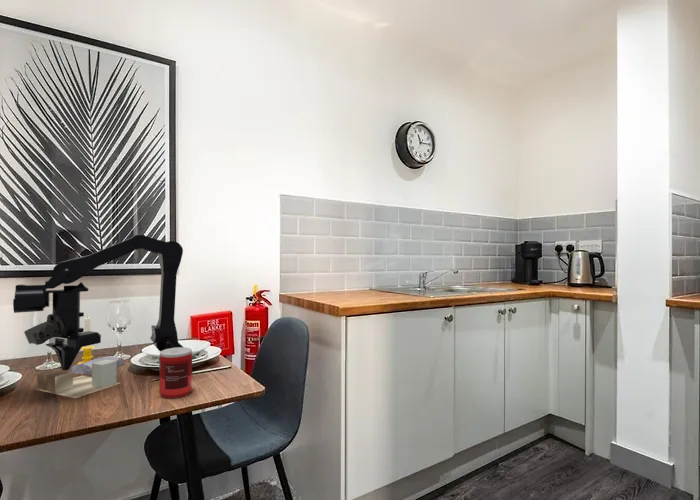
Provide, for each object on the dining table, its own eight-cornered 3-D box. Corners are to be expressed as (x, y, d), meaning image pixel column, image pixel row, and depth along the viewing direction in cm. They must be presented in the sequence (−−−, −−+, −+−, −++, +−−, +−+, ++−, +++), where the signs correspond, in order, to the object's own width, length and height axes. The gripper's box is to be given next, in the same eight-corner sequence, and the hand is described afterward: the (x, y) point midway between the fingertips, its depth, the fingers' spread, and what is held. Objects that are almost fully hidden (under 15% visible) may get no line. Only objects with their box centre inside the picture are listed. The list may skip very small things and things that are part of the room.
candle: (82, 367, 123) (82, 318, 123) (74, 364, 126) (74, 316, 126) (100, 363, 127) (100, 315, 127) (92, 360, 130) (92, 314, 130)
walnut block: (73, 372, 102) (53, 368, 105) (56, 377, 98) (37, 373, 102) (72, 387, 102) (53, 383, 105) (56, 392, 98) (37, 388, 102)
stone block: (67, 382, 114) (95, 378, 112) (65, 366, 114) (93, 361, 113) (100, 372, 126) (127, 367, 124) (99, 357, 126) (125, 352, 124)
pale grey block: (116, 383, 106) (116, 361, 106) (102, 387, 102) (102, 365, 102) (106, 381, 107) (106, 359, 107) (91, 385, 104) (92, 363, 104)
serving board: (120, 385, 106) (120, 382, 106) (74, 401, 95) (74, 398, 95) (82, 378, 112) (82, 375, 112) (35, 392, 101) (35, 389, 101)
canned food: (178, 386, 106) (178, 345, 106) (198, 391, 102) (198, 349, 102) (152, 395, 99) (152, 352, 99) (173, 401, 96) (173, 356, 96)
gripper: (7, 311, 96) (7, 374, 96) (55, 316, 89) (54, 384, 89) (56, 305, 106) (55, 362, 106) (102, 310, 99) (102, 371, 99)
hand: (65, 370), depth 100 cm, fingers closed
